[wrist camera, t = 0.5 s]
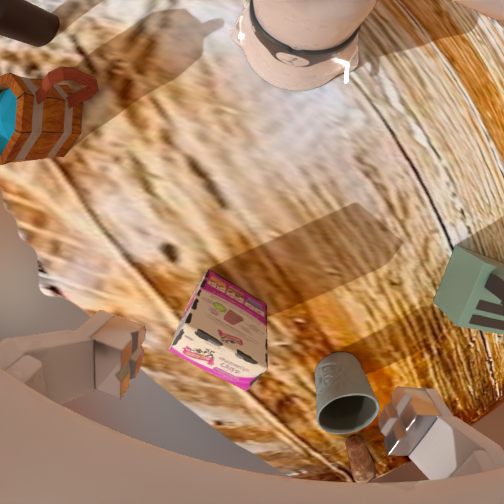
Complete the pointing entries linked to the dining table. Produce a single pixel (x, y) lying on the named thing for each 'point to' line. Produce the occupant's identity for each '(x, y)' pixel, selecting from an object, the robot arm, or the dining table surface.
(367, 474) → the bread
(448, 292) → the toaster
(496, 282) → the slide switch
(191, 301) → the candy bar box
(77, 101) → the mug
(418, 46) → the dining table surface
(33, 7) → the bottle
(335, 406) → the gray embossed cup
